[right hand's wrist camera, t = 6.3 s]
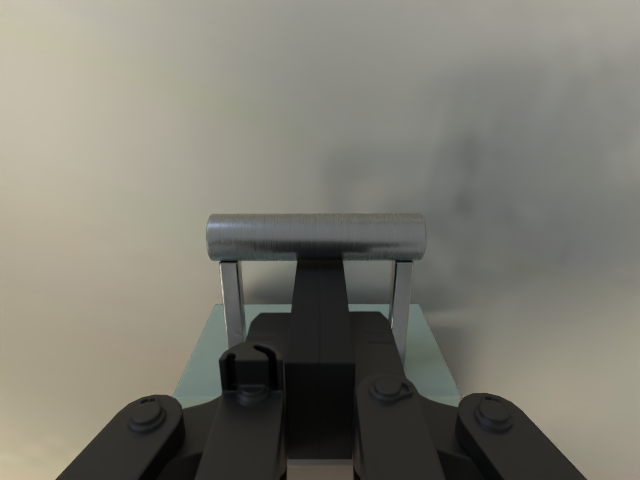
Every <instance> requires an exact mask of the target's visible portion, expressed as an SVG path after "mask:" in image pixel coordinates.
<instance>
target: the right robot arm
mask: <svg viewBox="0 0 640 480" xmlns="http://www.w3.org/2000/svg"><path fill="white" fill-rule="evenodd" d="M219 368H220V378H221V387H222V394H221V396H219V397H217V398H216V399H214V400H212V401H209V402H206V403H203V404H200V405H196V406H192V407H188V408H183V409H182V405H181V404H180V403H179V402H178V400H177V399H176V398H173V397H171V396H168V395H151V396H147V397H143V398H140V399H138V400H136V401H134V402H132V403H130V404H128V405H127V406H126V407H124V408H123V409H122V410H121V411H120V412H118V413H117V414H116V416H115V417H114V418H113V419H112V420H111V421H110V422H109V423H108V424H107V425H106V426H105V427H104V428H103V429H102V431H101V432H100V433H99V434H98V435H97V436H96V437H95V438H94V439H93V440H92V441H91V442H90V443H89V444H88V445H87V447H86V448H85V449H84V450H83V451H82V452H81V453H80V454H79V455H78V456H77V457H76V458H75V459H74V460H73V461H72V463H71V464H70V465H69V466H68V467H67V468H66V469H65V470H64V471H63V472H62V473H61V474H60V475H59V476H58V478H57V479H56V480H287V458H288V459H352V455H353V480H587V479H586V478H585V477H584V476H583V475H582V474H581V473H580V472H579V471H578V470H577V469H576V467H575V466H574V465H573V464H572V463H571V462H570V461H569V460H568V459H567V458H566V457H565V456H564V455H563V454H562V453H561V452H560V450H559V449H558V448H557V447H556V446H555V445H554V444H553V443H552V442H551V441H550V440H549V439H548V438H547V437H546V436H545V435H544V434H543V432H542V431H541V430H540V429H539V428H538V427H537V426H536V425H535V424H534V423H533V422H532V421H531V420H530V419H529V418H528V417H527V415H526V414H525V413H524V412H523V411H522V410H521V409H519V408H518V407H517V406H516V405H514V404H513V403H512V402H510V401H508V400H506V399H504V398H502V397H500V396H496V395H492V394H488V393H473V394H471V395H468V396H466V397H464V398H463V399H462V400H461V401H460V403H459V405H458V407H455V406H451V405H447V404H443V403H439V402H436V401H433V400H430V399H428V398H426V397H424V396H422V395H420V394H419V393H418V391H417V389H416V387H415V386H414V384H413V383H412V382H411V381H409V380H408V379H407V378H406V376H405V372H404V369H403V365H402V362H401V359H400V355H399V352H398V348H397V345H396V343H395V338H394V335H393V331H392V328H391V325H390V321H389V320H388V319H387V318H386V317H385V316H384V315H383V314H382V313H381V312H380V311H349V307H348V299H347V292H346V284H345V276H344V268H343V261H297V268H296V276H295V284H294V292H293V300H292V308H291V312H261V313H260V314H258V315H257V316H256V317H255V318H254V319H253V320H252V321H251V323H250V326H249V330H248V335H247V337H246V340H245V342H243V343H240V344H237V345H235V346H232V347H231V348H229V349H228V350H226V351H225V352H224V353H223V354H222V356H221V357H220V359H219Z"/></svg>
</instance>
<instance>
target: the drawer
mask: <svg viewBox="0 0 640 480" xmlns="http://www.w3.org/2000/svg"><path fill="white" fill-rule="evenodd" d="M206 244H207V251H208V255H209V257H210V259H211V260H213V261H220V263H219V268H220V278H221V288H222V298H223V304H217V305H215V306H214V309H213V311H212V313H211V315H210V317H209V319H208V321H207V324H206V326H205V328H204V330H203V332H202V334H201V336H200V339H199V341H198V343H197V345H196V347H195V349H194V351H193V354H192V356H191V358H190V360H189V362H188V364H187V366H186V369H185V371H184V373H183V375H182V377H181V379H180V381H179V384H178V386H177V388H176V390H175V392H174V394H173V398H176V399H177V400H178V402H179V403H180V404H181V405H182V409H183V408H188V407H192V406H196V405H200V404H203V403H206V402H209V401H212V400H214V399H216V398H217V397H219V396H221V394H222V387H221V378H220V368H219V359H220V357H221V356H222V354H223V353H224V352H225V351H226V350H228V349H229V348H231V347H232V346H235V345H237V344H240V343H243V342H245V340H246V337H247V335H248V330H249V326H250V323H251V321H252V320H253V319H254V318H255V317H256V316H257V315H258V314H260V313H261V312H291V308H292V304H244V296H243V283H242V270H241V261H353V260H392V273H391V287H390V302H389V304H348V307H349V311H380V312H381V313H382V314H383V315H384V316H385V317H386V318H387V319H388V320H389V321H390V325H391V328H392V331H393V335H394V338H395V343H396V345H397V348H398V352H399V355H400V359H401V362H402V365H403V369H404V372H405V376H406V378H407V379H408V380H409V381H411V382H412V383H413V384H414V386H415V387H416V389H417V391H418V393H419V394H420V395H422V396H424V397H426V398H428V399H430V400H433V401H436V402H439V403H443V404H447V405H451V406H455V407H458V405H459V403H460V401H461V394H460V392H459V390H458V388H457V386H456V384H455V381H454V379H453V377H452V375H451V373H450V370H449V368H448V366H447V364H446V362H445V359H444V357H443V355H442V353H441V351H440V349H439V346H438V344H437V342H436V340H435V338H434V335H433V333H432V331H431V329H430V327H429V324H428V322H427V320H426V318H425V316H424V314H423V311H422V309H421V307H420V305H419V304H410V299H411V288H412V277H413V266H414V263H413V261H412V260H421V259H422V258H423V256H424V253H425V248H426V226H425V221H424V218H423V216H422V215H421V214H212V215H211V216H210V217H209V220H208V223H207V230H206Z"/></svg>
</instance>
